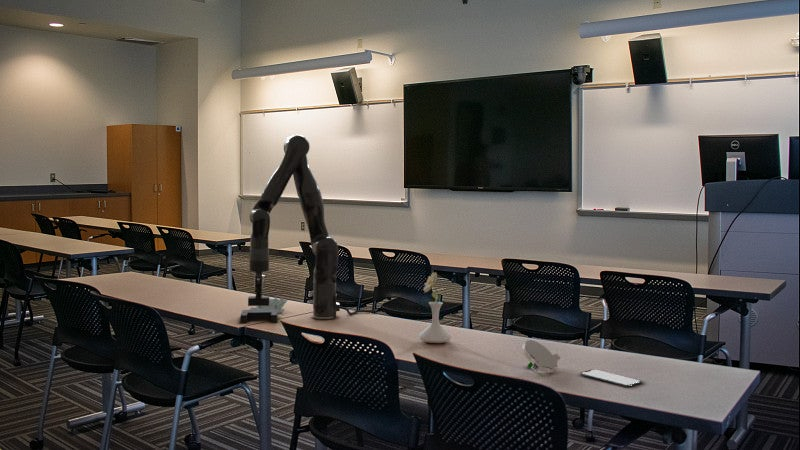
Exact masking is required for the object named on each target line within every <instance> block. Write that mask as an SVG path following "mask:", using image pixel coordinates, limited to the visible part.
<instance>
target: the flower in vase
mask: <svg viewBox="0 0 800 450" xmlns="http://www.w3.org/2000/svg"><path fill="white" fill-rule="evenodd" d="M437 278H438V274H437V271H435V272H433V271H432V273H431V274H430V275H429V276H428V277H427V279H426V282H424V287H423V290H422V291H424V292H423V293H427V292H429V291H430V290H431V289H432V288H433V287H434V289H435V291H432V293H431V297H432V298H433V299H434V300H435V301H429V302H428V305H429V306H430V309H431V315H432V320H431V323H430V324H429V325H428V326H427V327H426V328H425V329H423V330H422V331H421V332H420V333H419V335H418V338H419V339H420V340H421V341H423V342H426V343H431V344H442V343H448V342H449V341H451V339H452V338H453V337H452V335H451V334H450V332H448V331H447V330H446V329H445V327H443V326H442V325H441V323H440V318H439V317H440V310H441V308H442V306H443V303H444V302H442V301H438V300H439V298H440V297H439V294H438V289H437V287H436V285H435V284H436V281H437V280H438V279H437Z"/></svg>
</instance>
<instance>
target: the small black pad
mask: <svg viewBox="0 0 800 450" xmlns="http://www.w3.org/2000/svg"><path fill="white" fill-rule="evenodd" d="M269 299H270V296H269V295H262V299H261V303H256V295H255V296H254V295H253V296H248V297H247V306H248V307H257V306H269Z"/></svg>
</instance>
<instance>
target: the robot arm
mask: <svg viewBox="0 0 800 450" xmlns="http://www.w3.org/2000/svg"><path fill="white" fill-rule="evenodd" d="M310 147H311V146H310V142H309V140H308V138H307V137H305V136H303V135H301V134H296V135H292V136H289V137H287V138H286V139H285V141H284V143H283V152H284V155H283V158H282V160H281V162H280V163H279V165H278V167H277V169H275V171H274V173H273V174H272V176H271V177H270V178H269V179H268V182H267V183H266V185H265V187H264V189H263V190H262V192H261V195H260V197H259V198H258V200H257V201H256V203H255V204H254V206H253V207H252V209H251V210H250V213H249V221H250V223H251V225H252V227H251V229H252V230H251V234H250V241H249V243H250V247H249V266H248V267H249V268H248V270H249V271H250V272H252V273H255V275H253V281H254V282H253V283H254V284H253V287H254V295H255V296H256V303H261V299H262V296H263V291H264V290H263V289H264V286H265V275H264V274H263V273H266V272H268V271H269V270H270V250H269V249H270V248H269V245H270V244H269V241H270V240H269V233H270V229H271V228H270V226H271V215H270V214H271V212H272V210H273V208H274V207H276V205H277V204H278V203H279V202H280V199H281V197H282V195H283V193H284V191H285V190H286V187H287V185H288V184H289V182H290V179H291V178H293V181H294V186H295V190H296V195H297V198H298V201H299V202H298V203H299V205H300V208H301V211H302V215H303V217H304V220H305V223H306V226H307V229H308V234H309V240H310V245H311V250H312V254H314V255H315V265H314V268H313V277H312V278H313V280H312V281H313V285H312V286H313V288H312V291H313V292H312V293H313V294H312V300H313V301H312V318H313V319H316V320H332V319H333V320H334V319H337V312H340V311H341V310H344V311H346V312H347V315H350V316H353V315H355V314H358V313H370V314H372V313H373V314H378V310H370V309H357V310H354V311H352V312H350V310H349V308H347V307H345V306H341V304H340V302H337V271H338V268H339V265H338V264H339V245H338V242H337V241H336V240H335V238H333V237H330V234H329V232H328V231H329V230H328V229H327V226H326V225H327V224H326V222H325V206H324V205H325V204H324V200H323V195H322V192H321V188H320V186H319V183H318V182H317V179H316V178H315V175H313V172H312V170H311V168H310V165H309V161H308V160H309V159H308V156H307V155H308V153H309V152H310ZM292 176H293V177H292Z"/></svg>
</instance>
